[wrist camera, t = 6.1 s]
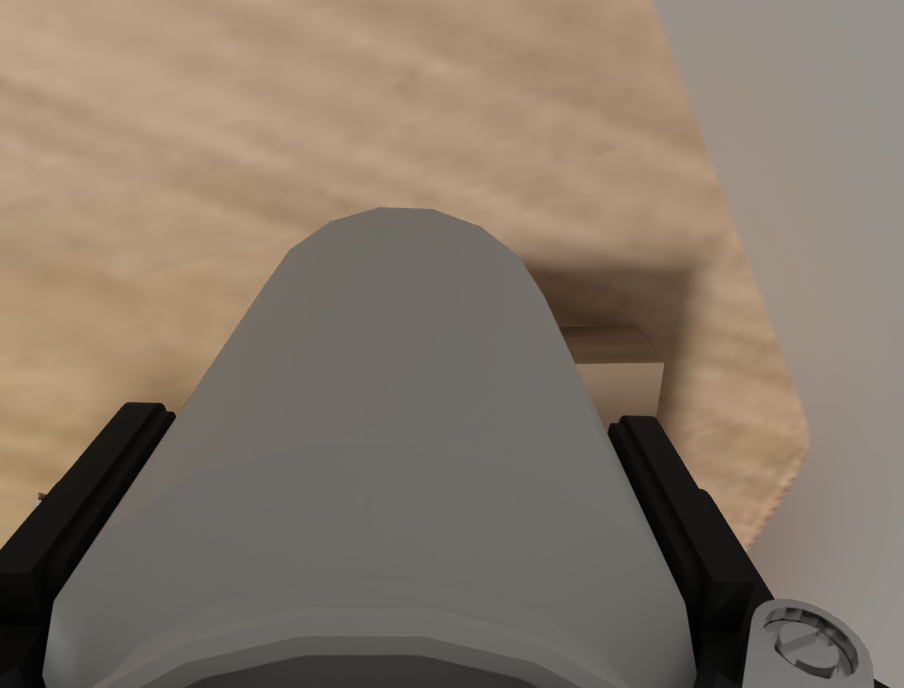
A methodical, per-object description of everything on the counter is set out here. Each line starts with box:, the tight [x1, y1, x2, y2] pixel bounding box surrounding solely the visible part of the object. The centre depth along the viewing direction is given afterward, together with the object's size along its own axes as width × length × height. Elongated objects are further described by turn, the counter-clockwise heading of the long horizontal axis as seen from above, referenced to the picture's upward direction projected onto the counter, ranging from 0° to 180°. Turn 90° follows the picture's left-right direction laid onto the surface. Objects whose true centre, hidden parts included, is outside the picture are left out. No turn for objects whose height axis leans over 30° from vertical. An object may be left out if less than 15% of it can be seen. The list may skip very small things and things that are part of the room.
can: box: [42, 207, 697, 688], centre depth 11 cm, size 8×8×12 cm
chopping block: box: [559, 327, 664, 433], centre depth 38 cm, size 20×16×5 cm
